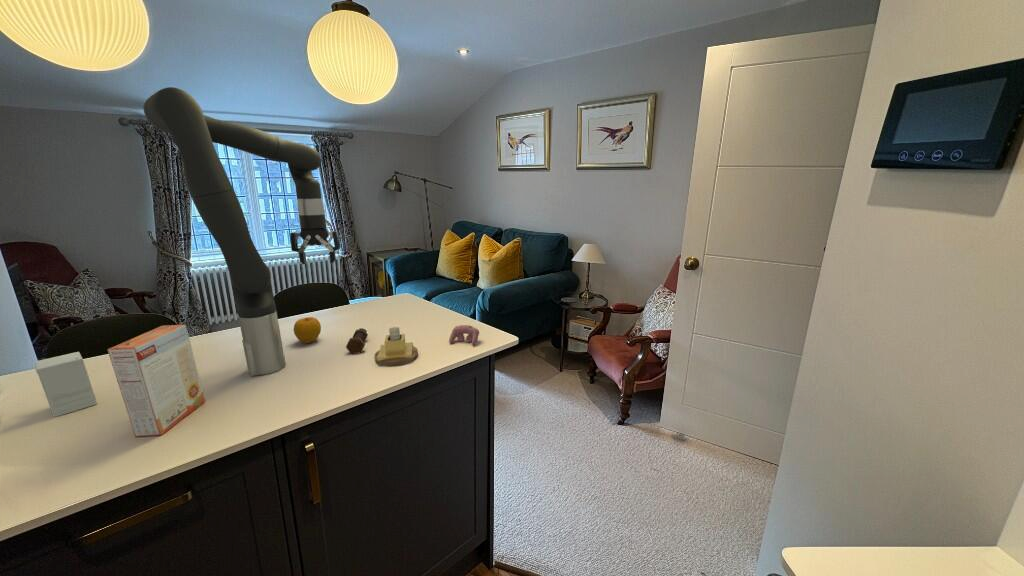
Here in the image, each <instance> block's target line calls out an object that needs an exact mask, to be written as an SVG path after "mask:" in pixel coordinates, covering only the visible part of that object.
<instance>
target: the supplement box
mask: <svg viewBox="0 0 1024 576" xmlns="http://www.w3.org/2000/svg"><path fill="white" fill-rule="evenodd" d="M84 361H85V360H84V358H83V357H82V355H81V353H80V351H77V352H76V351H75V352H71V353H67V354H62V355H59V356H58V355H57V356H53V357H49V358H44V359H41V360H40V359H39V360H36V361H35V362H36V364H35V372H36V373H37V375H38V378H39V381H40V383H41V386H42V389H43V391H44V394H45V397H46V400H47V402H48V405H49V408H50V410H51V413H52V415H53V417H54V418H57V417H60V416H63V415H65V414H69V413H72V412H75V411H79V410H82V409H85V408H89V407H92V406H96V405H97V404H98V402H97V398H96V394H95V392H94V389H93V386H92V382H91V379H90V375H89V374H88V370H87V368H86V364H85V362H84Z"/></svg>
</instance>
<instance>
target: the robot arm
mask: <svg viewBox="0 0 1024 576" xmlns="http://www.w3.org/2000/svg"><path fill="white" fill-rule="evenodd" d="M142 109H143V113H144V115H145V118H146V119H147V120H148V122H149V123H150V124H151V125H152V126H153V127H155V128H156V129H158V130H159V131H161V132H163V133H167V134H170V135H171V137H172V139H173V141H174V143H175V145H176V147H177V149H178V151H179V154H180V157H181V160H182V165H183V173H184V179H185V183H186V187H187V189H188V193H189V196H190V197H191V200H192V202H193V204H194V206H195V208H196V210H197V212H198V214H199V216H200V218H201V219H202V221H203V223H204V225H205V227H206V228H207V230H208V231H209V233H210V235H211V236H212V238H213V239H214V240H215V242H216V243H217V245H218V247H219V249H220V251H221V253H222V256H223V258H224V261H225V264H226V266H227V269H228V273H229V278H230V281H231V286H232V287H231V288H232V291H233V297H234V302H235V308H236V311H237V313H236V314H237V316H238V321H239V327H240V332H241V337H242V340H241V341H242V346H243V351H244V356H245V362H246V367H247V370H248V372H249V375H250V376H251V377H255V376H262V375H268V374H272V373H275V372H278V371H280V370H282V369H283V368H285V366H286V360H285V355H284V347H283V342H282V336H281V329H280V325H279V318H278V312H277V306H276V301H275V299H274V294H273V289H272V281H271V280H272V273H271V270H270V269H269V267H268V266H267V264H266V263H265V261H264V260H263V258H262V256H261V255H260V253H259V252H258V249H257V248H256V246H255V244H254V241H253V239H252V237H251V234H250V231H249V230H250V229H249V227H248V223H247V219H246V217H245V213H244V211H243V208H242V205H241V203H240V201H239V198H238V196H237V193H236V192H235V190H234V188H233V186H232V183H231V181H230V179H229V176H228V174H227V172H226V170H225V168H224V166H223V163H222V161H221V159H220V157H219V155H218V153H217V151H216V148H215V146H214V143H215V144H219V145H221V146H222V145H223V146H226V147H229V148H232V149H236V150H238V151H241V152H245V153H248V154H251V155H254V156H257V157H261V158H263V159H266V160H269V161H272V162H276V163H286V164H287V167H288V169H289V173H290V176H291V178H292V180H293V182H294V185H295V193H296V200H297V202H296V203H297V204H296V206H297V207H296V208H297V213H298V221H299V228H300V232H296V231H293V232H291V233H290V235H289V237H290V247H291V249H290V250H291V251H292V252H295V253H298V257H299V258H298V259H299V262H300V263H301V264H302V265H307V257H306V252H305V251H306V249H307V247H308V246H324V248H326V249H327V250H328V251H329V252H328V254H329V262H330V264H334V263H335V262H336V260H337V259H336V251H338V250H340V249H341V247H342V246H341V241H340V236H339V232H338V230H334V231H328V227H327V221H326V219H327V218H326V214H325V213H326V210H325V205H324V202H323V197H322V190H321V189H322V188H321V185H320V182H319V181H318V180H316V179H315V178H314V176H313V172H312V171H315V170H318V169H319V168H320V166H322V163H323V162H322V156H321V154H320V153H319V151H318V150H317V149H315V148H313V147H312V146H309V145H307V144H304V143H299V142H296V141H293V140H287V139H283V138H281V137H279V136H277V135H274V134H271V133H269V132H267V131H263V130H261V129H257V128H254V127H251V126H247V125H244V124H243V125H242V124H238V123H234V122H233V123H232V122H228V121H223V120H220V119H217V118H214V117H210V116H208V115H206V114H204V112H203V110H202V108H201V106H200V104H199V103H198V101H197V100H196V99H195V98H194V97H193V96H192V95H191V94H189V92H187V91H185V90H184V89H181V88H177V87H173V86H171V87H170V86H169V87H164V88H161V89H160V90H158V91H155V93H153V94H152V95H151V96H149V97H148V98H147V99H146V100H145V102H144V103H143V108H142ZM329 236H330V237H331V239H333V245H332V244H331V242H330V241H329V240H328V238H329ZM300 238H301V239H302V240H303V241H302V243H301V245H300V246H299V245H298V244H299V243H298V242H299V241H298V239H300Z"/></svg>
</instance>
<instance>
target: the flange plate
mask: <svg viewBox="0 0 1024 576" xmlns="http://www.w3.org/2000/svg"><path fill="white" fill-rule="evenodd" d="M413 346H414V342H406V333H400V340H390V334H389V335H388V334H387V335H386V336H385V338H384V344H381V345H380V348H379V350H380V351H379V350H378V351H379V354H378V357H377V360H378V361H381V360H392V359H403V358H412V351H413Z"/></svg>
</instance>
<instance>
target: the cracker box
mask: <svg viewBox="0 0 1024 576" xmlns="http://www.w3.org/2000/svg"><path fill="white" fill-rule="evenodd" d="M107 352H108V355H109V356H108V357H109V359H110V362H111V365H112V368H113V371H114V374H115V378H116V381H117V384H118V388H119V390H120V394H121V396H122V399H123V404H124V406H125V409H126V413H127V415H128V418H129V422H130V425H131V427H132V430H133V434H134V437H135V438H136V437H138V438H139V437H152V436H162V435H164V434H165V433H166V432H168V431H169V430H171V429H172V428H173V427H174V426H175V425H177V424H178V423H179V422H180V421H182V420H183V419H185V418H186V417H187V416H188V415H190V414H191V413H192V412H194V411H195V410H196V409H197V408H199V407H201V405H203V404H204V403H205V402H206V399H205V398H206V397H205V394H204V391H203V388H202V383H201V378H200V376H199V370H198V367H197V363H196V360H195V356H194V353H193V348H192V344H191V340H190V335H189V333H188V328H187V325H186V324H174V325H173V324H166V325H160V326H158V327H155V328H154V329H152V330H149V331H147V332H144V333H142V334H140V335H138V336H135V337H132V338H130V339H128V340H125V341H124V342H121V343H119V344H117V345H115V346H112V347H109V348H107Z"/></svg>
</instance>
